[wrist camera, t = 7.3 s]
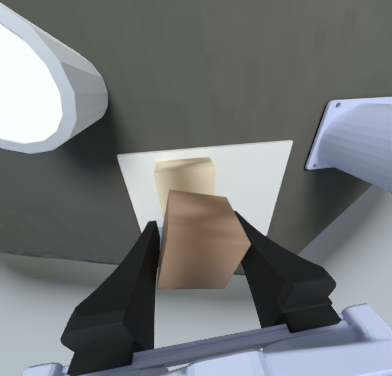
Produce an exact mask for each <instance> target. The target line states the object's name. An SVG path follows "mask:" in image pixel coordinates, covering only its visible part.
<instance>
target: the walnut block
mask: <svg viewBox="0 0 392 376" xmlns="http://www.w3.org/2000/svg"><path fill="white" fill-rule="evenodd" d="M250 245H251V243H250V241H249V239H248V237H247V235H246V234H245V232H244V230H243V228H242V226H241V224H240V222H239V220H238V218H237V216H236V214H235V212H234V210H233V209H232V207H231V205H230V203H229V201H228V199H227V197H222V196H214V195H207V194H199V193H192V192H184V191H177V190H169V194H168V199H167V205H166V211H165V216H164V222H163V228H162V233H161V245H160V257H159V269H158V282H157V289H221V288H222V289H224V288H225V287H226V285H227V283H228V282H229V280H230V278H231V277H232V275H233V273H234V272H235V270H236V268H237V267H238V265H239V263H240V262H241V260H242V258H243V257H244V255H245V253H246V252H247V250H248V248H249V247H250Z"/></svg>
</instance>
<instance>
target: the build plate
mask: <svg viewBox="0 0 392 376" xmlns="http://www.w3.org/2000/svg"><path fill="white" fill-rule="evenodd" d="M292 143H293V141H291V140H285V141H273V142H261V143H249V144H237V145H225V146H213V147H200V148H188V149H176V150H164V151H152V152H140V153H128V154H118V155H117V158H118V162H119V165H120V168H121V171H122V174H123V177H124V180H125V183H126V186H127V189H128V192H129V195H130V198H131V201H132V204H133V207H134V210H135V214H136V217H137V220H138V223H139V226H140V229H141V232H143V230H144V228H145V227H146V225H147V223H148V222H149V221H155V220H156V221H157V226H158V230H159V234H160V245H161V233H162V228H163V222H164V220H163V215H162V211H161V206H160V201H159V196H158V191H157V187H156V182H155V177H154V169H155V165H156V161H166V160H177V159H189V158H200V157H210V159H211V161H212V162H213V164H214V166H215V196H222V197H227V199H228V201H229V203H230V205H231V207H232V209H233V210H234V211H237V212H238V213H239V214H240V215H241V216H242V217H243V218H244V219H245V220H246V221H247V222H249V223H250V224H251V225H252V226H253V227H254V228H256V229H257V230H258V231H259V232H261V233H262V234H263V235H264V236H265V235H267V232H268V228H269V225H270V221H271V217H272V214H273V210H274V207H275V203H276V200H277V196H278V193H279V189H280V186H281V182H282V179H283V175H284V172H285V168H286V165H287V161H288V158H289V154H290V150H291V147H292Z"/></svg>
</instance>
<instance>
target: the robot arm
mask: <svg viewBox="0 0 392 376" xmlns="http://www.w3.org/2000/svg"><path fill="white" fill-rule="evenodd" d="M336 104H337V106H336ZM313 165H314V166H313ZM305 167H306V169H308V170H311V169H321V168H331V167H335V168H337V169H340V170H342V171H344V172H346V173H348V174H351V175H353V176H355V177H357V178H360V179H362V180H364V181H366V182H368V183H371V184H373V185H375V186H377V187H380V188H382V189H384V190H386V191H388V192H391V193H392V97H379V98H362V99H345V100H332V101H330V102H329V103H328V104H327V107H326V109H325V112H324V115H323V118H322V121H321V124H320V126H319V129H318V132H317V135H316V138H315V140H314V143H313V146H312V149H311V152H310V155H309V157H308V160H307V163H306V166H305ZM234 212H235V214H236V216H237V218H238V220H239V222H240V224H241V226H242V228H243V230H244V232H245V234H246V235H247V237H248V239H249V241H250V243H251V245H250V247H249V248H248V250H247V252H246V253H245V255H244V257H243V258H242V260H241V264H242V266H243V269H244V272H245V275H246V278H247V281H248V284H249V287H250V290H251V293H252V297H253V300H254V303H255V306H256V310H257V314H258V317H259V321H260V325H261V329H256V330H251V331H246V332H241V333H235V334H230V335H225V336H220V337H214V338H210V339H204V340H199V341H194V342H188V343H183V344H178V345H173V346H168V347H162V348H157V349H154V311H155V287H156V275H157V268H158V261H159V254H160V234H159V230H158V226H157V221H156V220H155V221H149V222H148V223H147V225H146V227H145V228H144V230H143V232H142V234H141V235H140V237H139V239H138V240H137V242H136V243H135V245H134V246H133V248H132V249H131V251H130V252H129V253H128V255H127V256H126V257H125V259H124V260H123V261H122V262H121V264H120V265H119V266H118V267H117V268H116V269H115V271H114V272H113V273H112V274H111V275H110V276H109V277H108V278H107V279H106V280H105V281H104V282H103V283H102V284H101V285H100V286H99V287H98V288H97V289H96V290H95V291H94V292H93V293H92V294H91V295H89V296H88V297H87V298H86V299H85V300H84V301H83V302H81V303H80V304H79V305H78V306H77V307H76V308H75V310H74V312H73V313H72V315H71V317H70V319H69V321H68V323H67V326H66V328H65V330H64V332H63V334H62V337H61V343H62V344H63V345H64V346H66V347H67V348H69V349H70V350H72V351H74V352H75V353H74V355H73V358H72V361H71V363H70V365H68V366H62V365H61V364H59V363H47V364H41V365H36V366H31V367H28V368H27V369H26V370H25V372H24V374H23V375H22V376H391V375H392V330H391V329H390V327H389V326H388V325H387V324H386V323H385V322H384V321H383V320H382V319H381V318H380V317H379V316H378V315H377V314H376V312H375V311H374V310H373V309H372V308H371V307H370V306H369V305H368V304H366V303H365V304H359V305H354V306H350V307H347V308H345V309H344V310H343V311H342V313H340V314H337V313H336V311H335V310H334V309H333V308H332V306H331V305H332V301H331V300H330V299H329V298H328V296H329V295H330V294H331V292H332V291H333V290H334V289H335V287H336V282H335V281H334V279H333V278H332V277H331V276H330V275H329V274H328V272H327V271H326V270H325V269H324V268H323V267H321V266H319V265H317V264H314V263H312V262H309V261H307V260H305V259H303V258H301V257H299V256H297V255H295V254H293V253H291V252H290V251H288V250H286V249H284V248H283V247H281V246H279V245H278V244H276V243H275V242H273V241H272V240H270V239H269V238H267V237H266V236H264V235H263V234H262V233H261V232H259V231H258V230H257V229H256V228H254V227H253V226H252V225H251V224H250V223H249V222H247V221H246V220H245V219H244V218H243V217H242V216H241V215H240V214H239V213H238V212H237V211H234ZM260 348H263V351H261V350H258V349H260ZM191 362H192V363H191ZM186 363H190V364H189V365H188V366H186V367H182V368H179V369H176V370H172V371H169V372H168V369H167V367H171V366H176V365H181V364H186Z"/></svg>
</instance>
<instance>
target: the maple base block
mask: <svg viewBox="0 0 392 376" xmlns="http://www.w3.org/2000/svg"><path fill="white" fill-rule="evenodd" d="M154 177H155V182H156V187H157V191H158V196H159V201H160V206H161V211H162V215H163V220H164V216H165V211H166V205H167V199H168V194H169V190H177V191H184V192H192V193H199V194H207V195H214V196H215V166H214V164H213V162H212V161H211V159H210V157H200V158H189V159H177V160H166V161H156V165H155V169H154Z"/></svg>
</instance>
